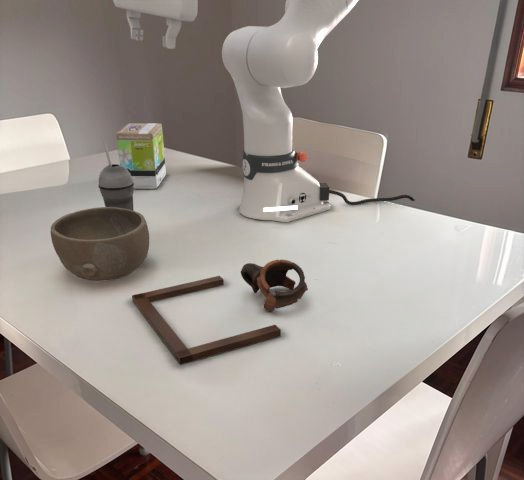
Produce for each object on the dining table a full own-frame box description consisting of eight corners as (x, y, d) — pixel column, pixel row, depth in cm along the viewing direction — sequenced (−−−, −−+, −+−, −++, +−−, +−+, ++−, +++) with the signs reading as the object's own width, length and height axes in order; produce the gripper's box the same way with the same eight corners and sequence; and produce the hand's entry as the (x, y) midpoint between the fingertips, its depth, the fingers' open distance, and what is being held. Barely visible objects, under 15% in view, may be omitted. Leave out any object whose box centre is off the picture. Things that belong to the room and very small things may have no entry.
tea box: (158, 189, 154) (152, 132, 146) (122, 189, 154) (113, 132, 146) (167, 174, 166) (162, 121, 158) (133, 175, 166) (126, 121, 159)
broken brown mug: (310, 291, 100) (317, 264, 93) (291, 333, 96) (297, 308, 89) (248, 268, 102) (250, 239, 95) (227, 309, 98) (228, 282, 90)
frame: (219, 281, 103) (219, 275, 103) (280, 336, 87) (280, 329, 86) (132, 301, 97) (131, 295, 96) (180, 365, 80) (179, 358, 79)
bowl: (108, 299, 98) (98, 245, 92) (39, 277, 106) (27, 226, 100) (172, 265, 110) (167, 215, 105) (106, 247, 118) (98, 200, 113)
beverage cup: (133, 244, 119) (119, 146, 109) (101, 242, 121) (84, 145, 110) (145, 232, 125) (134, 138, 115) (115, 230, 127) (101, 137, 116)
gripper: (209, -43, 90) (203, 54, 97) (134, -51, 101) (134, 36, 108) (178, -49, 86) (174, 52, 93) (104, -57, 97) (105, 34, 104)
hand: (152, 44), depth 101 cm, fingers open, 8 cm apart
